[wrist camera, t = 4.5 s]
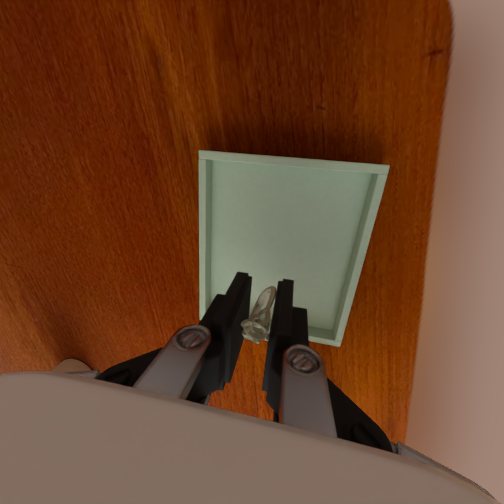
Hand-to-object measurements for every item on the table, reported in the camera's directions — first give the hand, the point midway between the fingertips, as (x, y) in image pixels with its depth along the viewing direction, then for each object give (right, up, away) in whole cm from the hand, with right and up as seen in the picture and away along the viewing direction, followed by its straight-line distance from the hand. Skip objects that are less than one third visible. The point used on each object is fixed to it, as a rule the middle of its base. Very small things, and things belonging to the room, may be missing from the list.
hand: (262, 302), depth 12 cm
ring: (0, 0, +1) cm, 1 cm away
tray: (+2, +3, +9) cm, 9 cm away
